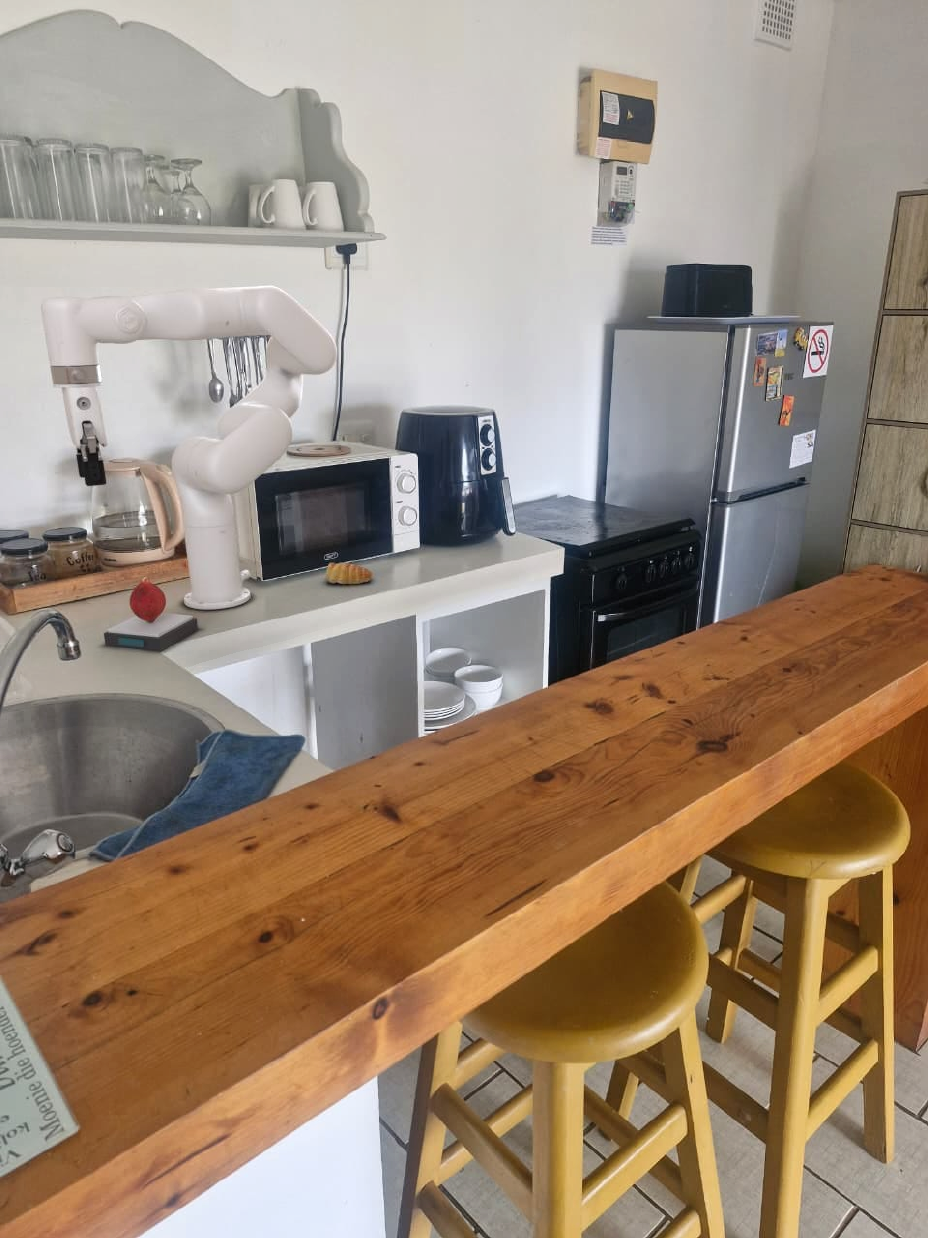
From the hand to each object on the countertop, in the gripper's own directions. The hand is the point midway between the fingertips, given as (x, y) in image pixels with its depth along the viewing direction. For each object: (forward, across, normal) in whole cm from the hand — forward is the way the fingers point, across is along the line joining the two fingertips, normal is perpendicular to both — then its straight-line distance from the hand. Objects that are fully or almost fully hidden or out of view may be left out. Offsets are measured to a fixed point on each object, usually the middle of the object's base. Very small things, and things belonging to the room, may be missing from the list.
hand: (92, 480), depth 148 cm
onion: (+24, -10, -5) cm, 26 cm away
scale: (+26, -10, -5) cm, 29 cm away
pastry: (+26, +6, -47) cm, 54 cm away
